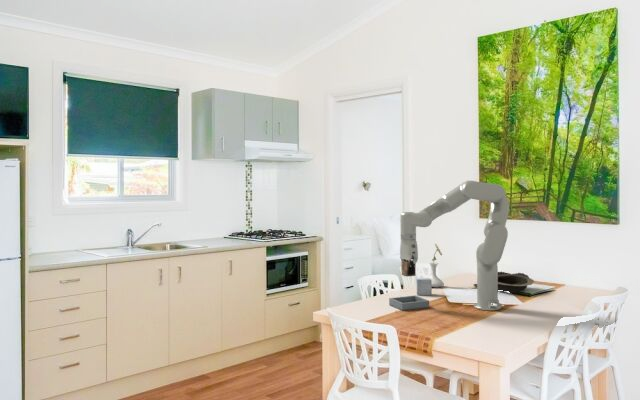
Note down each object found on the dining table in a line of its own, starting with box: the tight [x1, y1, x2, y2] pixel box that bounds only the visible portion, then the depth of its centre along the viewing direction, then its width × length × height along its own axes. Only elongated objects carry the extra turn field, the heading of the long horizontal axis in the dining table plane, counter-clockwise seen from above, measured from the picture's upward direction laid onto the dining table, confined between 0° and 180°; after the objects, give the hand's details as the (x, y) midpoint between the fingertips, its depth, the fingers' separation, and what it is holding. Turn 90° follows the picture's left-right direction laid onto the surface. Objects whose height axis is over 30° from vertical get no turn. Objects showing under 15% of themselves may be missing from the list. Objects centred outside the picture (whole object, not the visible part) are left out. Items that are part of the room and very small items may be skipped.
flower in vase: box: [429, 243, 445, 288], centre depth 310 cm, size 13×11×25 cm
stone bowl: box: [498, 271, 535, 294], centre depth 295 cm, size 25×25×9 cm
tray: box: [388, 294, 430, 312], centre depth 263 cm, size 13×15×4 cm
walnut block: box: [401, 260, 417, 277], centre depth 262 cm, size 5×5×7 cm
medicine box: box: [415, 277, 433, 296], centre depth 289 cm, size 8×4×9 cm, turn 84°
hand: (408, 273), depth 263 cm, fingers closed on walnut block, 5 cm apart
